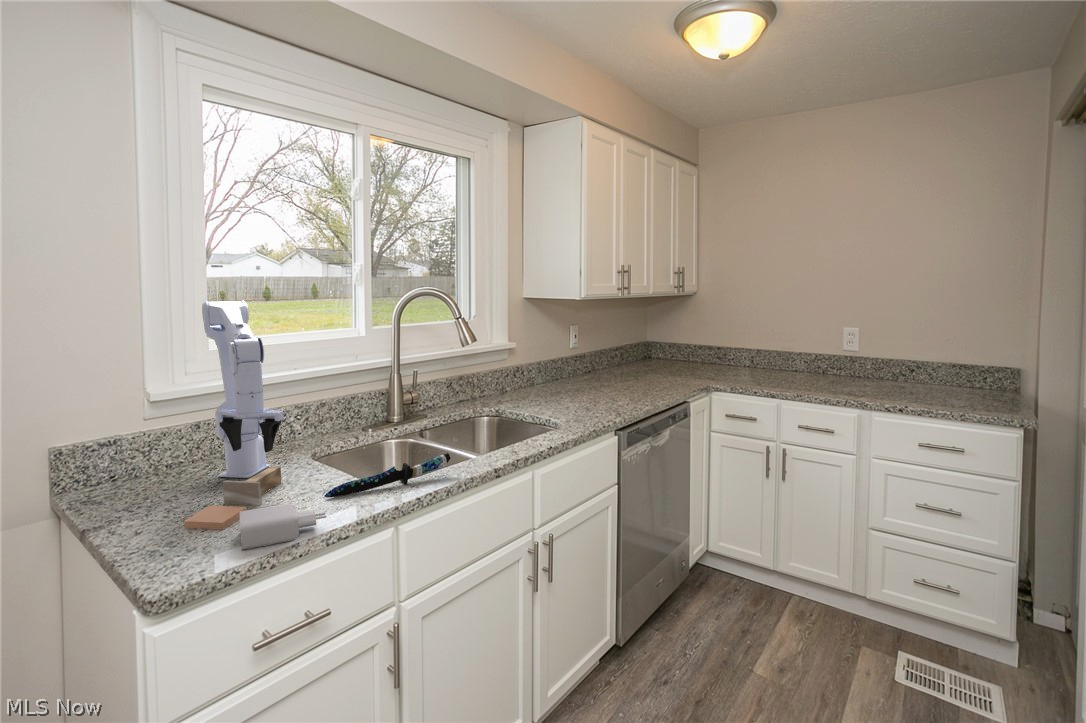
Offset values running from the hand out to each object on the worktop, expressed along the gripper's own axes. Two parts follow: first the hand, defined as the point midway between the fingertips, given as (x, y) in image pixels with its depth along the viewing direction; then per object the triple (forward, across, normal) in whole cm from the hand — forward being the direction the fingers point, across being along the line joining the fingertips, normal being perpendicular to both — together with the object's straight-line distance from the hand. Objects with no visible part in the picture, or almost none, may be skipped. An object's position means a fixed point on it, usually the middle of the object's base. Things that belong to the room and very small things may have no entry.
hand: (252, 450), depth 133 cm
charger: (+10, +19, -21) cm, 30 cm away
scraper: (+10, +2, -2) cm, 10 cm away
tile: (+9, +2, -13) cm, 16 cm away
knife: (+10, +30, +6) cm, 32 cm away
